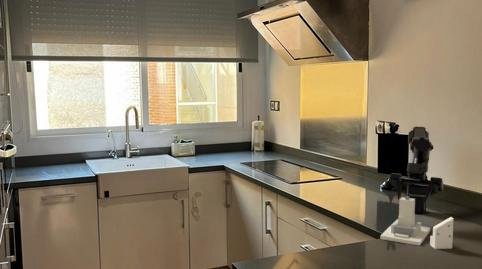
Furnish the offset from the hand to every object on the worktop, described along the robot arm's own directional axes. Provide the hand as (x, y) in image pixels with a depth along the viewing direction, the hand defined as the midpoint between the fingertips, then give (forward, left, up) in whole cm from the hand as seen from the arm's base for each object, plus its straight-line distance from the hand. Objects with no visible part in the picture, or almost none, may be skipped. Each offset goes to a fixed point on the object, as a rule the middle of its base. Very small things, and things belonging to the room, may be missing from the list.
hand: (411, 201), depth 177 cm
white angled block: (+5, +19, -11) cm, 22 cm away
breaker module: (+6, +5, -8) cm, 11 cm away
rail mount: (+7, +5, -10) cm, 13 cm away
